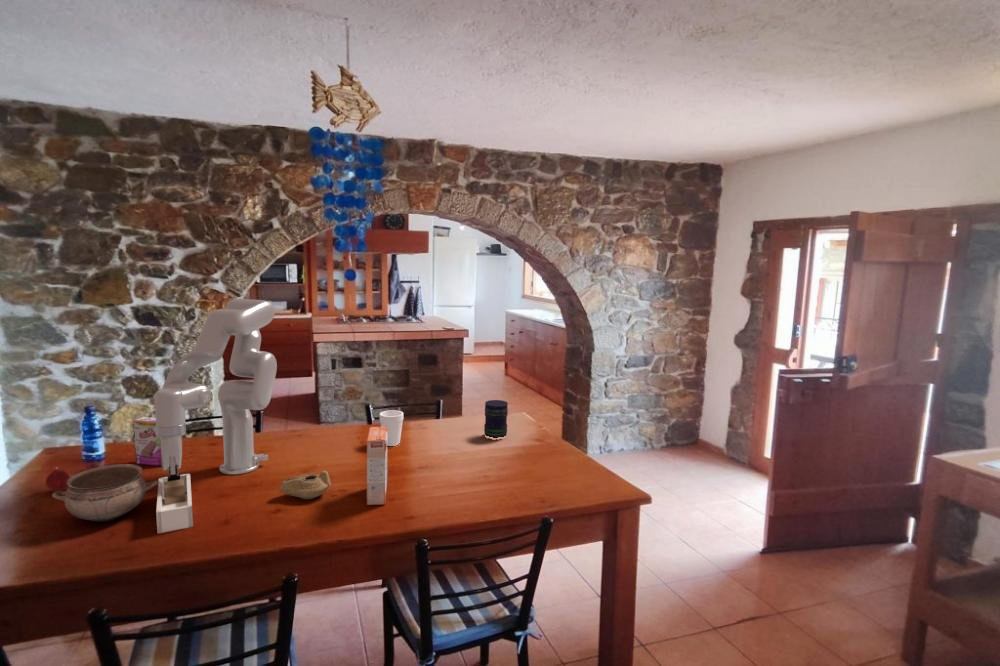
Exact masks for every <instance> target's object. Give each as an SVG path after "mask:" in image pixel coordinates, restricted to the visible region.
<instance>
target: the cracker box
mask: <svg viewBox="0 0 1000 666" xmlns="http://www.w3.org/2000/svg"><path fill="white" fill-rule="evenodd" d="M387 487H388V447H387V427H381V426H370V427H369V431H368V436H367V440H366V505H367V506H379V505H380V506H381V505H385V504H386V498H387V489H388V488H387Z"/></svg>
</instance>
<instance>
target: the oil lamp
mask: <svg viewBox="0 0 1000 666" xmlns="http://www.w3.org/2000/svg"><path fill="white" fill-rule="evenodd" d="M331 485H332V482H331V477H330V476H329V472H328V471H326V470H322V471H321V473H320V474H319V473H314V472H313V473H306V474H301V475H296V476H292V477H290V478H287V479H285V480H283V481H282V483H281V484H280V487H279V490H280V492H282V493H284V494H285V495H287V496H293V497H297V498H299V499H302V500H313V499H316V498H318V497H320V496H321V495H322V494H323V493H324V492H325V491H327V490H328V489H329V488H330V487H331Z"/></svg>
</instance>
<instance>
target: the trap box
mask: <svg viewBox="0 0 1000 666" xmlns="http://www.w3.org/2000/svg"><path fill="white" fill-rule="evenodd" d="M181 479H184V490H185V501H184V502H179V503H173V504H167V505H165V496H164V482H168V476H164V477H163V476H162V477H159V478H158V484H157V486H158V487H157V498H156V500H157V501H156V509H155V510H156V511H155V512H156V513H155V515H156V516H155V517H156V527H157V528H156V529H157V534H163V533H168V532H173V531H177V530H183V529H184V530H185V529H189V528H193V527H194V519H193V518H194V517H193V516H194V515H193V500H192V483H191V473H183V474H180V480H181Z"/></svg>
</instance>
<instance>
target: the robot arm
mask: <svg viewBox="0 0 1000 666" xmlns="http://www.w3.org/2000/svg"><path fill="white" fill-rule="evenodd" d="M274 317H275V307H274V305H273V303H271V302H270V301H269V300H264V299H251V298H250V299H249V298H248V299H247V298H235V299H234V298H233V299H230V300H228V301H227V302H226V305H225V308H220V309H218V308H217V309H214V310H212V311H210V312H209V313H208V315H207V318H206V320H205V321H204V324H203V326H202V329H201V331H200V333H199V335H198V338H197V340H196V342H195V345H194V347H193V349H191V351H189V352H188V353H186V354H185V355H184V356H183V357H181V359H179V360H178V361H177V362H176V363H175V364H174V365H173V366H172V368H171V369H170V370H169V372H168V373H167V375H166V378H165V380H164V382H163V385H162V388H161V389H158V390H157V391H155V393H154V409H155V411H154V414H155V418H156V431H157V437H158V438H161V458H162V466H161V471H162V472H165V471H167V477H168V481H175V480H180V475H181V473H180V469H181V467H182V460H183V459H182V457H183V439H182V436H185V435H186V433H187V426H186V411H187V410H193V409H200V408H203V407H204V406H206V405H207V404H209V402H210V401H211V399H212V391H211V389H210V387H208V386H207V385H204V384H202V383H194V382H187V381H188V379H189V378H190V376H191V375H193V373H194V372H196V371H198V370H199V369H201V368H203V367H206V366H208V365H211V364H213V363H215V362H216V363H217V362H218V361H219V360H221V359H222V357H223V355H224V352H225V350H226V348H227V345H228V343H229V340H230V338H231V336H234V342H233V347H232V350H231V351H232V353H231V357H230V361H229V371H230V373H231V374H232V375H234V376H237V377H242V378H251V379H253V381H249V380H240V379H239V380H238V379H231V380H226V381H225V382H223V383H222V384H221V385H220V386H219V388H218V391H217V398H218V403H219V407H220V410H221V412H220V413H221V417H222V436H223V438H222V439H223V441H222V442H223V462H224V463H222V464H220V466H219V472H221V473H222V474H226V475H241V474H247V473H250V472H253V471H255V470H256V469H258V468H259V467H260V461H269V454H264V453H259V454H258V453H257V454H256V453H255V451H254V450H255V447H254V426H253V424H254V422H253V421H254V420H253V415H252V413H251V410H254V411H261V410H264V409H265V408H267V406H269V403H270V401H271V400H272V399H271V398H272V395H273V390H274V385H275V380H276V375H277V372H278V371H277V369H278V365H277V363H278V362H277V358H276V357H275V355H274V354H273V353H271V352H268V351H263V350H260V349H261V344H262V334H261V332H260V331H261V330H260V329H262V328H264V327H265V326H268V325H269V324H270V323H271V322H272V321H273V319H274Z"/></svg>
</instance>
